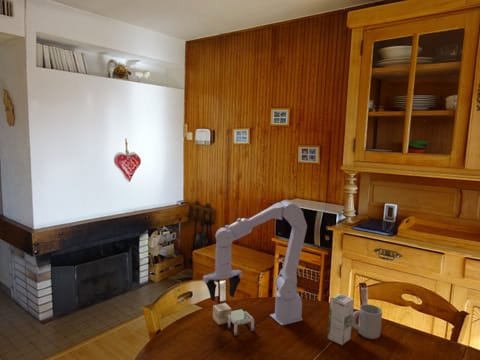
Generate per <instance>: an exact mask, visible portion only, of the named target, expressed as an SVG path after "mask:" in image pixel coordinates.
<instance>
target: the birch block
mask: <svg viewBox="0 0 480 360" xmlns="http://www.w3.org/2000/svg"><path fill="white" fill-rule="evenodd" d="M231 311H232V308H231V307H230V305H228V304H227V303H226V302H223V303H219V304H214V305H213V306H212V319H213V320H214V322H215V323H216V324H217V325H223V324H226V323H227V324H228V315H230V316H231Z"/></svg>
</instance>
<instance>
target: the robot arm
mask: <svg viewBox="0 0 480 360" xmlns="http://www.w3.org/2000/svg"><path fill="white" fill-rule="evenodd" d="M283 218H284V219H285V220H286V221H287V222H288V223H289V225H290V226H291V231H290V235H289V239H288V244H287V248H286V253H285V258H284V260H283V261H284V262H283V266H282V268H281V269H280V271H279V274H278V275H277V276H276V277H275V281H274V283H275V286H276V288H277V290H276V292H275V303H274V304H275V305H274V307H275V308H274V313H271V314H269V316H270V318H272V319H273V320H274V321H275V322H277V323H278V324H279V325H281V326H286V325H290V324H294V323H296V322H300V321H303V317H302V309H303V301H302V298H301V296H300V295H299V294H298V287H297V284H298V278H297V271H298V268H299V262H300V258H301V255H302V254H301V253H302V250H303V246H304V242H305V237H306V234H307V229H308V224H307V220H306V219H305V215H304V211H303V210H302V209H301V207H300V206H298V204H295V203H294V202H293V201H291V200H290V199H284V200H281V201H280V202H276V203H274V204H272V205H271V206H269V207H267V208H266V209H263V210H262V211H260V212H259V213H257V214H255V215H253V216H252V217H249V218H244V217H243V218H240V217H239V218H237V219H236V221H235V222H233V223H231V224H229V225H228V224H226V225H224V227H220V228H219V229H217V230H216V232H215V235H214V237H215V240H216V241H215V242H216V244H215V255H214V256H215V262H214V272H211V273H209V274H205V275H203V276H202V281H203V282H204V283H205V285H206V287H207V290H208V292H209V297H210V300H211V301H212V302H215V300H216V290H217V284H216V281H218V280H226V279H228V283H229V290H228V292H229V297H231V298H234V297H235V294H236V290H237V288H238V286H239V284H240V283H241V278H240V277H243V273H242V272H243V271H242V270H240V269H233V270H232V244H233V242H234V241H237V240H239V239H241V238H243V237H245V236H246V235H248V234H250V233H251V232H252V230H253V228H254V227H257V226H259V225H262V224H263V223H265V222H267V221H270V220H271V219H273V220H275V219H276V220H281V221H282V220H283Z"/></svg>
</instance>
